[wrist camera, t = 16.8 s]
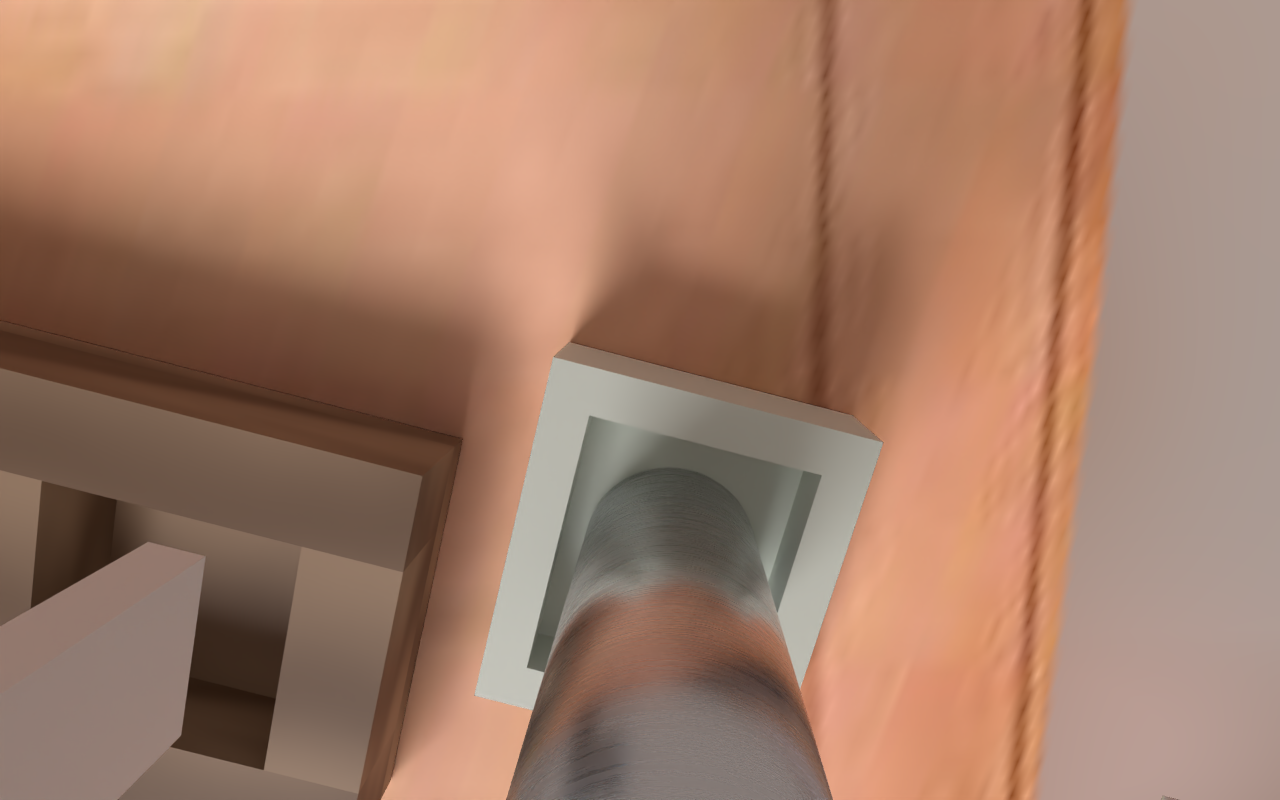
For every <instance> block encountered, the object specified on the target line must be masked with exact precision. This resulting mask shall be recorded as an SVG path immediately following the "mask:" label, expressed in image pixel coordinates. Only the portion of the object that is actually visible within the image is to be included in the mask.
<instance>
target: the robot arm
mask: <svg viewBox="0 0 1280 800" xmlns="http://www.w3.org/2000/svg"><path fill="white" fill-rule="evenodd" d="M205 557H206V556H203V555H199V554H195V553H191V552H187V551H183V550H179V549H175V548H171V547H167V546H163V545H159V544H155V543H151V542H147V543H145V544H144V545H142V546H140V547H138V548H137V549H135V550H133V551H131V552H130V553H128V554H126V555H124V556H123V557H121V558H119V559H117V560H116V561H114V562H112V563H110V564H109V565H107V566H105V567H103V568H102V569H100V570H98V571H96V572H95V573H93V574H91V575H89V576H87V577H86V578H84V579H82V580H80V581H79V582H77V583H75V584H73V585H72V586H70V587H68V588H66V589H65V590H63V591H61V592H59V593H58V594H56V595H54V596H52V597H51V598H49V599H47V600H45V601H44V602H42V603H40V604H38V605H37V606H35V607H33V608H31V609H30V610H28V611H26V612H24V613H23V614H21V615H19V616H17V617H16V618H14V619H12V620H10V621H9V622H7V623H5V624H3V625H2V626H0V800H118V799H119V798H120V797H121V796H122V795H123V794H124V793H125V792H126V791H127V790H128V789H129V788H130V787H131V786H132V785H133V783H134V782H135V781H136V780H137V779H138V778H139V777H140V776H141V775H142V774H143V773H144V772H145V771H146V770H147V769H148V768H149V767H150V766H151V765H152V764H153V763H154V762H155V761H156V760H157V759H158V758H159V757H160V756H161V755H162V754H163V753H164V752H165V751H166V750H167V749H168V748H169V747H170V746H171V745H172V744H173V743H174V742H175V741H176V740H177V739H178V738H179V737H180V736H181V732H182V725H183V718H184V710H185V703H186V696H187V689H188V681H189V674H190V667H191V659H192V652H193V645H194V638H195V630H196V623H197V616H198V608H199V601H200V594H201V586H202V579H203V572H204V565H205ZM1161 800H1178V799H1174V798H1170V797H1166V796H1162V798H1161Z"/></svg>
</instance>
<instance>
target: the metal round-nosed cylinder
mask: <svg viewBox="0 0 1280 800" xmlns="http://www.w3.org/2000/svg"><path fill="white" fill-rule="evenodd" d="M506 800H833V799H832V795H831V792H830V789H829V785H828V782H827V779H826V775H825V772H824V768H823V765H822V762H821V758H820V755H819V752H818V748H817V745H816V742H815V738H814V735H813V732H812V728H811V725H810V722H809V718H808V715H807V711H806V708H805V705H804V701H803V698H802V695H801V691H800V688H799V685H798V681H797V678H796V675H795V671H794V668H793V665H792V661H791V658H790V654H789V651H788V648H787V644H786V641H785V638H784V634H783V631H782V628H781V624H780V621H779V618H778V614H777V611H776V607H775V604H774V601H773V597H772V594H771V591H770V587H769V584H768V581H767V577H766V574H765V571H764V567H763V564H762V561H761V557H760V554H759V550H758V547H757V544H756V540H755V537H754V534H753V530H752V527H751V524H750V521H749V518H748V516H747V514H746V512H745V510H744V509H743V507H742V506H741V504H740V503H739V501H738V500H737V499H736V498H735V496H734V495H733V494H732V493H731V492H730V491H729V490H728V489H726V488H725V487H724V486H723V485H722V484H720V483H718V482H717V481H715V480H714V479H712V478H710V477H708V476H706V475H704V474H701V473H698V472H695V471H692V470H687V469H682V468H670V467H668V468H656V469H651V470H646V471H643V472H640V473H637V474H634V475H632V476H630V477H628V478H626V479H624V480H623V481H621V482H620V483H618V484H617V485H616V486H614V487H613V488H612V489H611V490H610V491H609V492H608V493H607V494H606V495H605V496H604V497H603V498H602V499H601V501H600V502H599V504H598V505H597V507H596V508H595V510H594V512H593V514H592V516H591V518H590V521H589V524H588V527H587V531H586V534H585V537H584V541H583V544H582V548H581V551H580V554H579V558H578V561H577V564H576V568H575V571H574V574H573V578H572V581H571V584H570V588H569V591H568V594H567V598H566V601H565V605H564V608H563V611H562V615H561V618H560V621H559V625H558V628H557V631H556V635H555V638H554V641H553V645H552V648H551V651H550V655H549V658H548V662H547V665H546V668H545V672H544V675H543V678H542V682H541V685H540V688H539V692H538V695H537V698H536V702H535V705H534V708H533V712H532V715H531V719H530V722H529V725H528V729H527V732H526V735H525V739H524V742H523V745H522V749H521V752H520V755H519V759H518V762H517V765H516V769H515V772H514V776H513V779H512V782H511V786H510V789H509V792H508V796H507V799H506Z"/></svg>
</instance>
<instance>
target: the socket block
mask: <svg viewBox="0 0 1280 800" xmlns="http://www.w3.org/2000/svg"><path fill="white" fill-rule="evenodd" d="M462 440H463V439H460V438H456V437H453V436H449V435H445V434H441V433H437V432H433V431H429V430H425V429H421V428H418V427H414V426H410V425H406V424H402V423H398V422H394V421H390V420H386V419H382V418H379V417H375V416H371V415H367V414H363V413H359V412H355V411H351V410H347V409H343V408H340V407H336V406H332V405H328V404H324V403H320V402H316V401H312V400H308V399H305V398H301V397H297V396H293V395H289V394H285V393H281V392H277V391H273V390H269V389H266V388H262V387H258V386H254V385H250V384H246V383H242V382H238V381H234V380H230V379H227V378H223V377H219V376H215V375H211V374H207V373H203V372H199V371H195V370H191V369H188V368H184V367H180V366H176V365H172V364H168V363H164V362H160V361H156V360H153V359H149V358H145V357H141V356H137V355H133V354H129V353H125V352H121V351H117V350H114V349H110V348H106V347H102V346H98V345H94V344H90V343H86V342H82V341H78V340H75V339H71V338H67V337H63V336H59V335H55V334H51V333H47V332H43V331H40V330H36V329H32V328H28V327H24V326H20V325H16V324H12V323H8V322H4V321H1V320H0V626H2V625H3V624H5V623H7V622H9V621H10V620H12V619H14V618H16V617H17V616H19V615H21V614H23V613H24V612H26V611H28V610H30V609H31V608H33V607H35V606H37V605H38V604H40V603H42V602H44V601H45V600H47V599H49V598H51V597H52V596H54V595H56V594H58V593H59V592H61V591H63V590H65V589H66V588H68V587H70V586H72V585H73V584H75V583H77V582H79V581H80V580H82V579H84V578H86V577H87V576H89V575H91V574H93V573H95V572H96V571H98V570H100V569H102V568H103V567H105V566H107V565H109V564H110V563H112V562H114V561H116V560H117V559H119V558H121V557H123V556H124V555H126V554H128V553H130V552H131V551H133V550H135V549H137V548H138V547H140V546H142V545H144V544H145V543H147V542H151V543H155V544H159V545H163V546H167V547H171V548H175V549H179V550H183V551H187V552H191V553H195V554H199V555H203V556H206V557H205V565H204V572H203V579H202V586H201V594H200V601H199V608H198V616H197V623H196V630H195V638H194V645H193V652H192V659H191V667H190V674H189V681H188V689H187V696H186V703H185V710H184V718H183V725H182V732H181V736H180V737H179V738H178V739H177V740H176V741H175V742H174V743H173V744H172V745H171V746H170V747H169V748H168V749H167V750H166V751H165V752H164V753H163V754H162V755H161V756H160V757H159V758H158V759H157V760H156V761H155V762H154V763H153V764H152V765H151V766H150V767H149V768H148V769H147V770H146V771H145V772H144V773H143V774H142V775H141V776H140V777H139V778H138V779H137V780H136V781H135V782H134V783H133V785H132V786H131V787H130V788H129V789H128V790H127V791H126V792H125V793H124V794H123V795H122V796H121V797H120V798H119V799H118V800H381V798H382V796H383V794H384V792H385V790H386V788H387V786H388V784H389V782H390V780H391V775H392V771H393V766H394V761H395V757H396V752H397V747H398V742H399V738H400V733H401V728H402V724H403V719H404V714H405V709H406V705H407V700H408V695H409V690H410V686H411V681H412V676H413V672H414V667H415V662H416V657H417V653H418V648H419V643H420V639H421V634H422V629H423V624H424V620H425V615H426V610H427V605H428V601H429V596H430V591H431V587H432V582H433V577H434V572H435V568H436V563H437V558H438V554H439V549H440V544H441V539H442V535H443V530H444V525H445V521H446V516H447V511H448V506H449V502H450V497H451V492H452V487H453V483H454V478H455V473H456V469H457V464H458V459H459V454H460V450H461V445H462Z"/></svg>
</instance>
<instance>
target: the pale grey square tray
mask: <svg viewBox="0 0 1280 800" xmlns="http://www.w3.org/2000/svg"><path fill="white" fill-rule="evenodd" d="M882 445H883V442H882V441H881V440H880V439H879V438H878V437H877V436H875V435H874V434H873V433H872V432H871V431H870V430H869V429H868V428H866V427H865V426H864V425H863V424H862V423H861V422H860V421H858V420H857V419H856V418H855V417H854V416H853V415H849V414H845V413H841V412H837V411H833V410H830V409H826V408H822V407H818V406H814V405H810V404H806V403H803V402H799V401H795V400H791V399H787V398H783V397H779V396H776V395H772V394H768V393H764V392H760V391H756V390H752V389H749V388H745V387H741V386H737V385H733V384H729V383H725V382H722V381H718V380H714V379H710V378H706V377H702V376H698V375H695V374H691V373H687V372H683V371H679V370H675V369H671V368H668V367H664V366H660V365H656V364H652V363H648V362H644V361H641V360H637V359H633V358H629V357H625V356H621V355H617V354H614V353H610V352H606V351H602V350H598V349H594V348H590V347H587V346H583V345H579V344H575V343H571V342H569V343H568V344H567V345H566V346H565V347H564V348H562V349H561V350H560V351H559V352H558V353H557V354H556V355H555V356H554V357H553V360H552V365H551V369H550V373H549V378H548V382H547V386H546V390H545V395H544V399H543V403H542V408H541V412H540V416H539V420H538V425H537V429H536V433H535V438H534V442H533V446H532V450H531V455H530V459H529V463H528V468H527V472H526V476H525V480H524V485H523V489H522V493H521V498H520V502H519V506H518V510H517V515H516V519H515V523H514V528H513V532H512V536H511V541H510V545H509V549H508V553H507V558H506V562H505V566H504V571H503V575H502V579H501V583H500V588H499V592H498V596H497V601H496V605H495V609H494V613H493V618H492V622H491V626H490V631H489V635H488V639H487V643H486V648H485V652H484V656H483V661H482V665H481V669H480V673H479V678H478V682H477V686H476V691H475V695H474V696H478V697H482V698H486V699H490V700H494V701H498V702H502V703H506V704H510V705H514V706H518V707H522V708H526V709H530V710H533V708H534V705H535V702H536V698H537V695H538V692H539V688H540V685H541V682H542V678H543V675H544V672H545V668H546V665H547V662H548V658H549V655H550V651H551V648H552V645H553V641H554V638H555V635H556V631H557V628H558V625H559V621H560V618H561V615H562V611H563V608H564V605H565V601H566V598H567V594H568V591H569V588H570V584H571V581H572V578H573V574H574V571H575V568H576V564H577V561H578V558H579V554H580V551H581V548H582V544H583V541H584V537H585V534H586V531H587V527H588V524H589V521H590V518H591V516H592V514H593V512H594V510H595V508H596V507H597V505H598V504H599V502H600V501H601V499H602V498H603V497H604V496H605V495H606V494H607V493H608V492H609V491H610V490H611V489H612V488H613V487H614V486H616V485H617V484H618V483H620V482H621V481H623V480H624V479H626V478H628V477H630V476H632V475H634V474H637V473H640V472H643V471H646V470H651V469H656V468H668V467H670V468H682V469H687V470H692V471H695V472H698V473H701V474H704V475H706V476H708V477H710V478H712V479H714V480H715V481H717V482H718V483H720V484H722V485H723V486H724V487H725V488H726V489H728V490H729V491H730V492H731V493H732V494H733V495H734V496H735V498H736V499H737V500H738V501H739V503H740V504H741V506H742V507H743V509H744V510H745V512H746V514H747V516H748V518H749V521H750V524H751V527H752V530H753V534H754V537H755V540H756V544H757V547H758V550H759V554H760V557H761V561H762V564H763V567H764V571H765V574H766V577H767V581H768V584H769V587H770V591H771V594H772V597H773V601H774V604H775V607H776V611H777V614H778V618H779V621H780V624H781V628H782V631H783V634H784V638H785V641H786V644H787V648H788V651H789V654H790V658H791V661H792V665H793V668H794V671H795V675H796V678H797V681H798V685H799V688H800V687H801V684H802V682H803V679H804V676H805V673H806V670H807V667H808V664H809V661H810V658H811V655H812V652H813V649H814V646H815V643H816V640H817V637H818V634H819V631H820V628H821V625H822V622H823V619H824V616H825V613H826V611H827V608H828V605H829V602H830V599H831V596H832V593H833V590H834V587H835V584H836V581H837V578H838V575H839V572H840V569H841V566H842V563H843V560H844V557H845V554H846V551H847V548H848V545H849V543H850V540H851V537H852V534H853V531H854V528H855V525H856V522H857V519H858V516H859V513H860V510H861V507H862V504H863V501H864V498H865V495H866V492H867V489H868V486H869V483H870V480H871V477H872V475H873V472H874V469H875V466H876V463H877V460H878V457H879V454H880V451H881V448H882Z"/></svg>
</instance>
